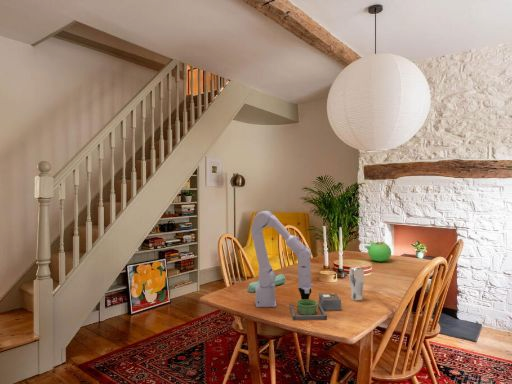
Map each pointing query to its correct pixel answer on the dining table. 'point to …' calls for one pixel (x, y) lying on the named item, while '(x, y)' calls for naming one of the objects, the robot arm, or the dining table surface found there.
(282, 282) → the teal cylinder
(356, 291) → the beer glass
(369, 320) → the dining table surface
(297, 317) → the frame
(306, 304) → the ramekin
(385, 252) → the green round body
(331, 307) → the box
